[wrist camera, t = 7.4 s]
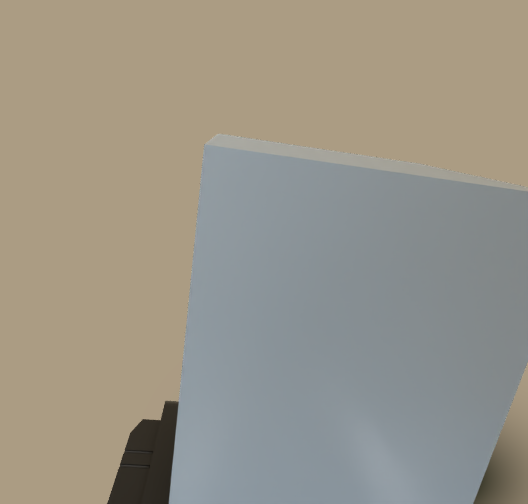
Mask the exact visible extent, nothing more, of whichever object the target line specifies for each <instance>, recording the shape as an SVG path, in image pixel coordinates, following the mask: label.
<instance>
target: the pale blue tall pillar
mask: <svg viewBox="0 0 528 504" xmlns="http://www.w3.org/2000/svg"><path fill="white" fill-rule="evenodd" d="M527 362H528V187H525V186H521V185H516V184H511V183H507V182H502V181H497V180H492V179H488V178H484V177H479V176H474V175H470V174H465V173H460V172H456V171H451V170H447V169H442V168H437V167H433V166H428V165H424V164H418V163H412V162H405V161H398V160H392V159H385V158H378V157H372V156H365V155H358V154H351V153H345V152H338V151H331V150H325V149H318V148H310V147H304V146H298V145H290V144H284V143H278V142H271V141H264V140H257V139H251V138H244V137H238V136H231V135H224V134H217V135H216V136H214V137H213V138H212V139H211V140H209V141H208V142H207V143H206V144H205V145H204V154H203V164H202V174H201V184H200V194H199V204H198V214H197V224H196V235H195V244H194V255H193V265H192V275H191V284H190V295H189V304H188V315H187V325H186V335H185V345H184V355H183V365H182V375H181V385H180V395H179V405H178V415H177V425H176V435H175V445H174V455H173V465H172V475H171V485H170V495H169V504H473V502H474V500H475V497H476V495H477V492H478V490H479V487H480V484H481V482H482V479H483V476H484V474H485V471H486V469H487V466H488V463H489V461H490V458H491V456H492V453H493V451H494V448H495V445H496V443H497V440H498V438H499V435H500V432H501V430H502V427H503V425H504V422H505V419H506V417H507V414H508V412H509V409H510V406H511V403H512V401H513V399H514V396H515V393H516V391H517V388H518V385H519V383H520V380H521V378H522V375H523V373H524V370H525V368H526V365H527Z"/></svg>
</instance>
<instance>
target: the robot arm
mask: <svg viewBox="0 0 528 504" xmlns="http://www.w3.org/2000/svg"><path fill="white" fill-rule="evenodd" d="M178 405H179V402H176V401H165V405H164V409H163V413H162V418H161V420H146V419H143V420H142V421H141V422H140V423H139V424H138V425H137V426H136V427H135V429H134V430H133V431H132V432H131V433H130V436H129V439H128V442H127V445H126V448H125V452H124V454H123V457H122V460H121V463H120V467H119V469H118V472H117V476H116V479H115V482H114V485H113V488H112V491H111V494H110V497H109V500H108V503H107V504H169V495H170V485H171V475H172V465H173V455H174V445H175V435H176V425H177V415H178Z"/></svg>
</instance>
